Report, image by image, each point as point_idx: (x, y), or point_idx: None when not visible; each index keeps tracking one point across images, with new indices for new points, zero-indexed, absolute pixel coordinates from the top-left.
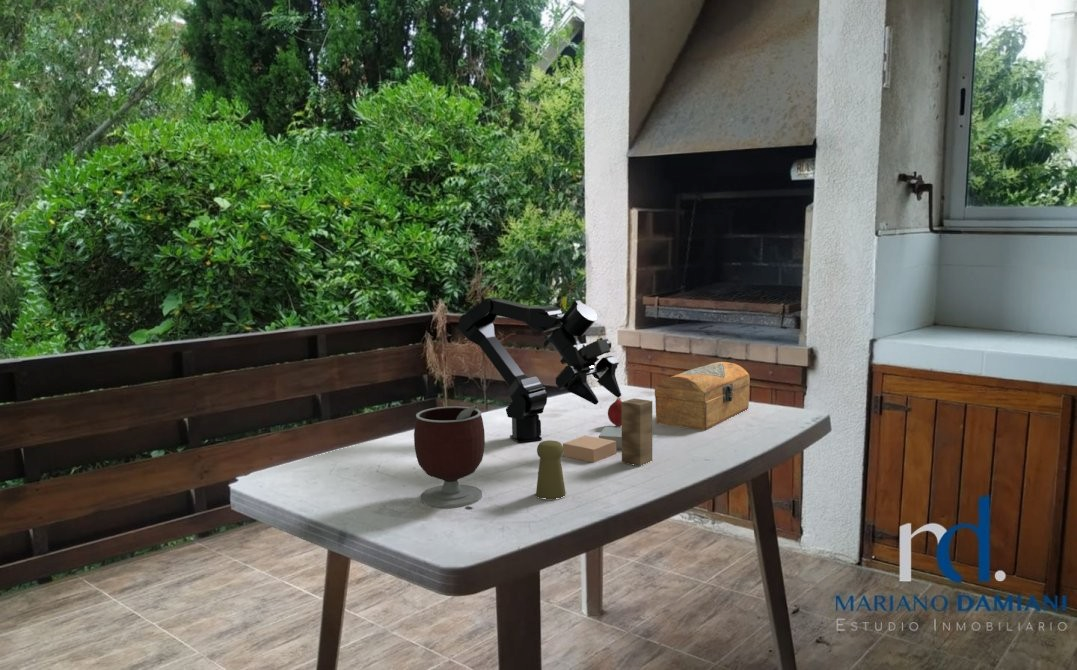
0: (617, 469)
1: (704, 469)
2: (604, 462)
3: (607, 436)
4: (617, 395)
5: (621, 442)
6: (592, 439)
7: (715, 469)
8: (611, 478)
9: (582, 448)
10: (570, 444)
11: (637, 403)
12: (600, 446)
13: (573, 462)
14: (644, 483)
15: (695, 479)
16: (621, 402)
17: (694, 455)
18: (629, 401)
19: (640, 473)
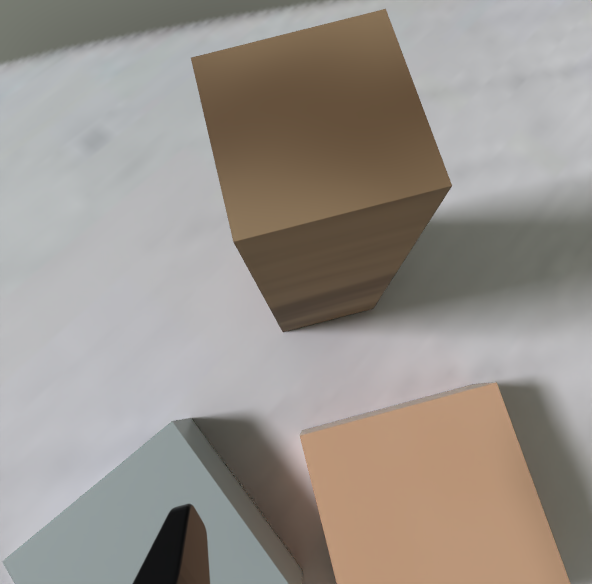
0: (447, 249)
1: None
2: (432, 356)
3: (267, 553)
4: (203, 543)
5: (224, 479)
6: (382, 555)
7: (168, 52)
8: (535, 180)
9: (521, 456)
10: (551, 554)
11: (365, 61)
12: (433, 406)
13: (552, 447)
14: (468, 79)
15: (301, 20)
16: (449, 188)
17: (80, 204)
18: (367, 161)
19: None
